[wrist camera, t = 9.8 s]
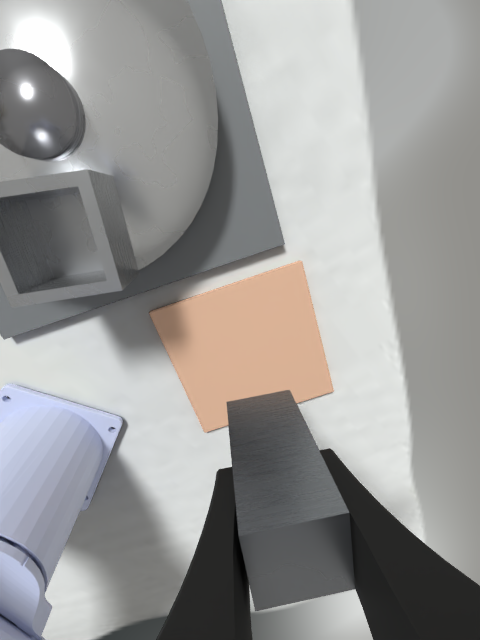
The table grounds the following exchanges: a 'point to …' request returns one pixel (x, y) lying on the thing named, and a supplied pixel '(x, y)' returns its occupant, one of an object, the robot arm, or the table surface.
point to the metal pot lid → (99, 141)
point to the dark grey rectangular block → (286, 505)
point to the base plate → (217, 208)
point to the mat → (245, 342)
